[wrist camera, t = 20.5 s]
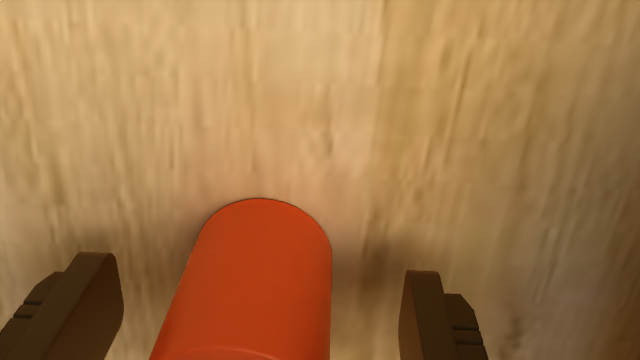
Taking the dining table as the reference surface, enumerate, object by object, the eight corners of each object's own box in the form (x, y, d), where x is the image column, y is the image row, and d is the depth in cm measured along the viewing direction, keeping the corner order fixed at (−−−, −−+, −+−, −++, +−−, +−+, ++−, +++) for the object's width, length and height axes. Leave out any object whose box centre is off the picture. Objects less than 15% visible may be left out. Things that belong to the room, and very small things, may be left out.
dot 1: (201, 303, 15) (145, 472, 11) (192, 193, 14) (121, 342, 9) (328, 310, 15) (323, 482, 11) (335, 201, 14) (332, 353, 9)
